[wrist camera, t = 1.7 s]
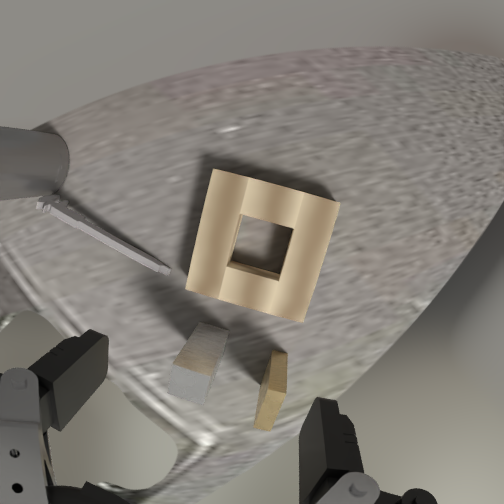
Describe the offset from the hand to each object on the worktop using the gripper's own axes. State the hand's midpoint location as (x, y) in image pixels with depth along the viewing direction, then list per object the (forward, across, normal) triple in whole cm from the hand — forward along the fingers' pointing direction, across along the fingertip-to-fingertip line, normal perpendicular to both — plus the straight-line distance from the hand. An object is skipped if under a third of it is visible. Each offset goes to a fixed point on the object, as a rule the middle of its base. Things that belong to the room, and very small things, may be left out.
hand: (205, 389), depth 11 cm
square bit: (+28, -3, -14) cm, 31 cm away
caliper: (+29, -20, -4) cm, 35 cm away
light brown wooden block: (+28, +6, -16) cm, 32 cm away
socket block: (+28, 0, 0) cm, 28 cm away
